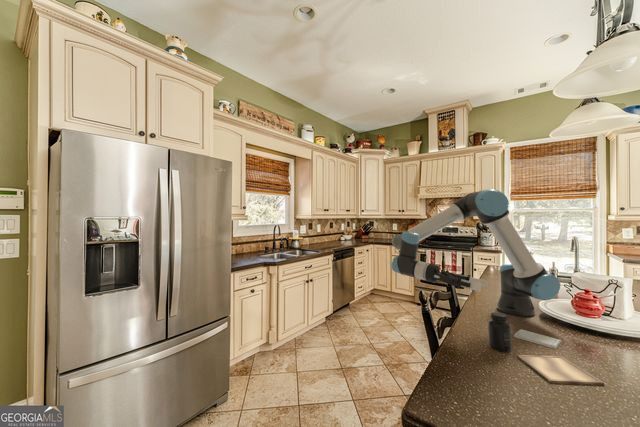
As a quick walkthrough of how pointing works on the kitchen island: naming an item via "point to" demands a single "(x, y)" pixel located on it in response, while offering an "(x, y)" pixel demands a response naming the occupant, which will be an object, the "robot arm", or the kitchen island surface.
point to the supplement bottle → (499, 332)
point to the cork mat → (559, 370)
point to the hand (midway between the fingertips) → (484, 286)
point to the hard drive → (537, 338)
